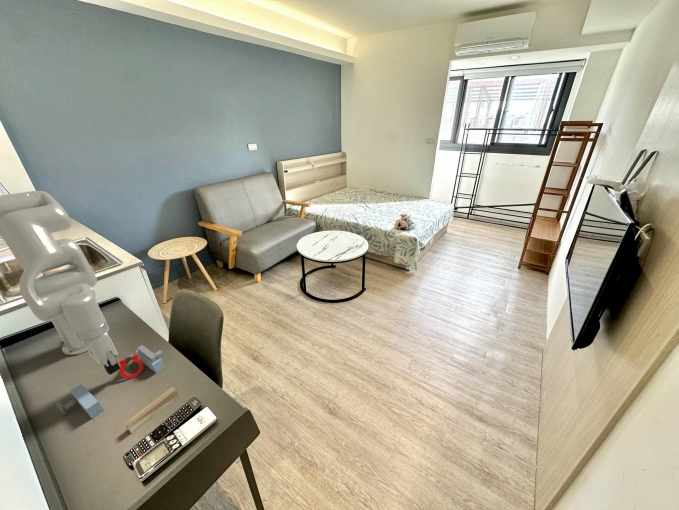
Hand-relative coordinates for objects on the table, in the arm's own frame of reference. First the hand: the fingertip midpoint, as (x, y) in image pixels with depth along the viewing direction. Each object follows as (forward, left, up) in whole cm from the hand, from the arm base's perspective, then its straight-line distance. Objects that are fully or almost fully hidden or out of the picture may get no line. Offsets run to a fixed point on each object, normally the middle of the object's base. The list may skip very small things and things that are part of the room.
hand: (114, 370), depth 94 cm
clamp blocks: (+4, 0, -4) cm, 5 cm away
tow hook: (+1, +5, -6) cm, 8 cm away
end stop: (+24, 0, -4) cm, 24 cm away
